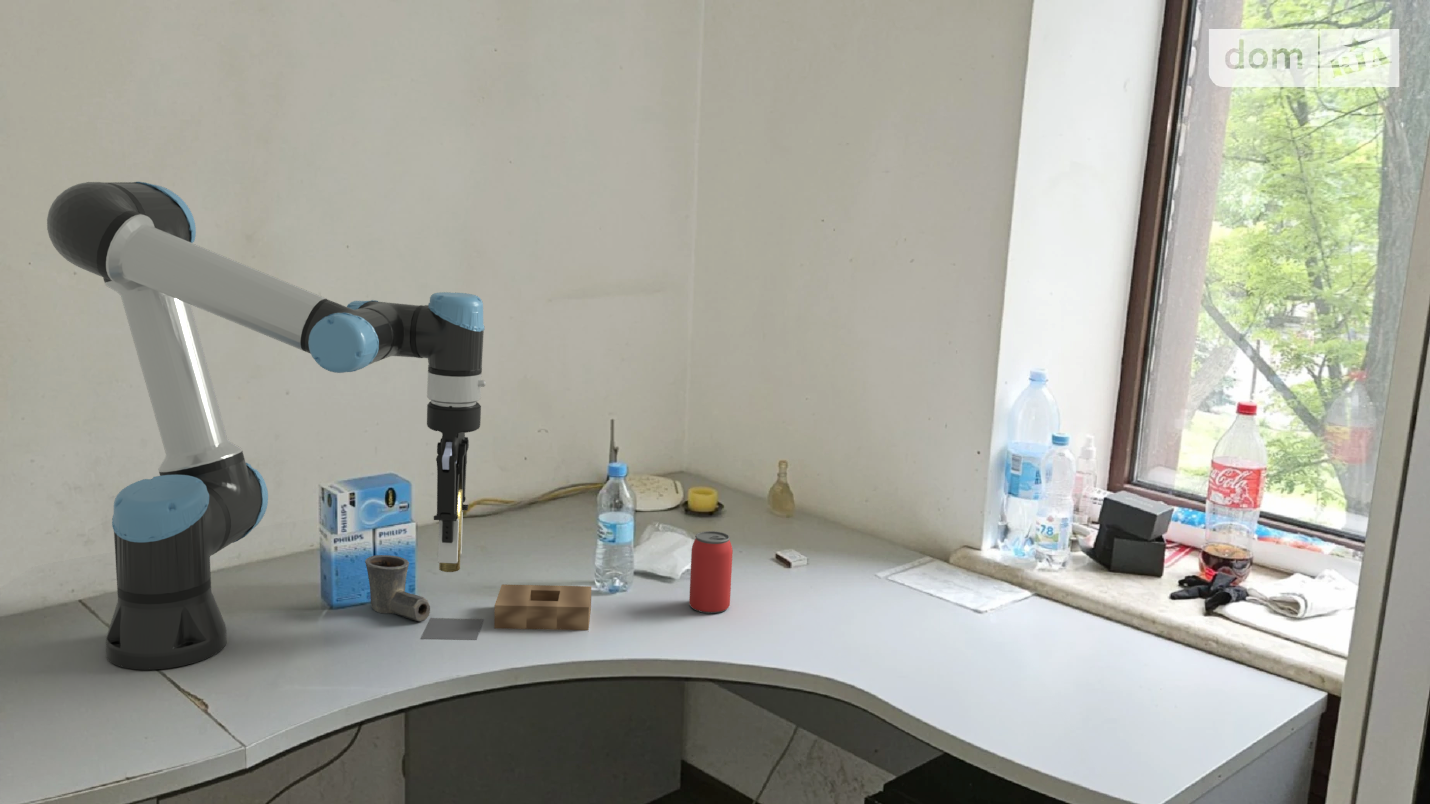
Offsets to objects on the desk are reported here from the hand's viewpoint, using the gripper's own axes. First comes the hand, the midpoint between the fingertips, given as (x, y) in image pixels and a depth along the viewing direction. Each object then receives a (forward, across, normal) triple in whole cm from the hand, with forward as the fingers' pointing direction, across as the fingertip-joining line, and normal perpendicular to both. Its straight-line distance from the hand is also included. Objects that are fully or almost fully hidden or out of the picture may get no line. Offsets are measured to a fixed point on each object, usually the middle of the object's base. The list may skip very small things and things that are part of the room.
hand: (449, 557), depth 166 cm
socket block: (+11, +5, -14) cm, 18 cm away
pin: (+2, 0, 0) cm, 2 cm away
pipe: (+12, +6, +9) cm, 16 cm away
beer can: (+11, +12, -40) cm, 43 cm away
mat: (+11, 0, -1) cm, 11 cm away
